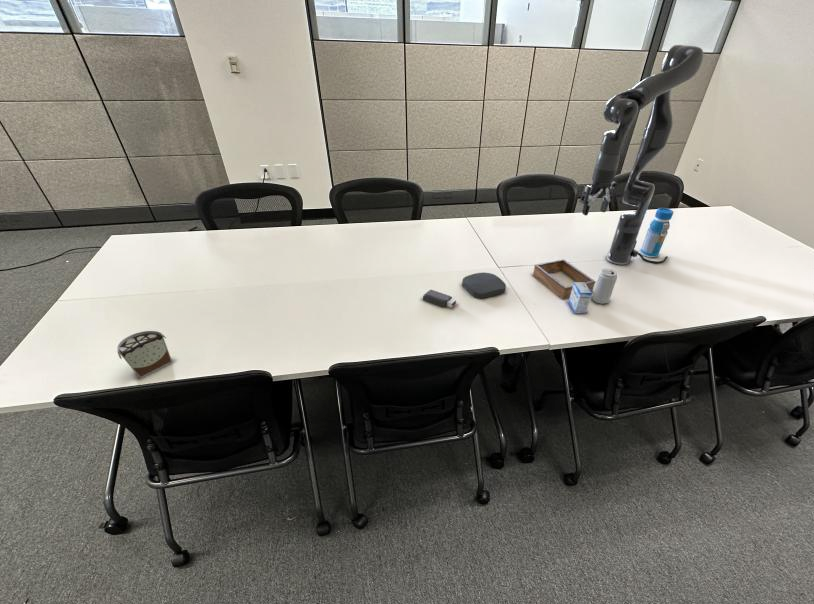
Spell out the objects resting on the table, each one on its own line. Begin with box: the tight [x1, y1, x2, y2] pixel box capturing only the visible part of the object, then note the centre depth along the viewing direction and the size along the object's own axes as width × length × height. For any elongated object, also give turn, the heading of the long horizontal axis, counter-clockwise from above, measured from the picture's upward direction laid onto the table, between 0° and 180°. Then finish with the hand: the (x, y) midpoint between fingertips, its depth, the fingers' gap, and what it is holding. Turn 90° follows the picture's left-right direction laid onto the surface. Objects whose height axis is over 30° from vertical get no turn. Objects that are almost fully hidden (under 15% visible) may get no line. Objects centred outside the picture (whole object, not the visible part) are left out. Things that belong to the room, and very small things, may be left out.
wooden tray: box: [532, 258, 597, 300], centre depth 168 cm, size 15×21×5 cm
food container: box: [116, 330, 173, 379], centre depth 119 cm, size 12×6×10 cm, turn 145°
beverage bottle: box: [639, 207, 674, 258], centre depth 187 cm, size 8×8×20 cm
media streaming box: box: [461, 272, 507, 299], centre depth 163 cm, size 15×15×3 cm
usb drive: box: [422, 289, 457, 309], centre depth 154 cm, size 5×12×3 cm, turn 59°
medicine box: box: [568, 281, 593, 314], centre depth 153 cm, size 8×4×9 cm, turn 6°
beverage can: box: [591, 268, 618, 305], centre depth 156 cm, size 6×6×12 cm
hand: (593, 213), depth 156 cm, fingers open, 8 cm apart
